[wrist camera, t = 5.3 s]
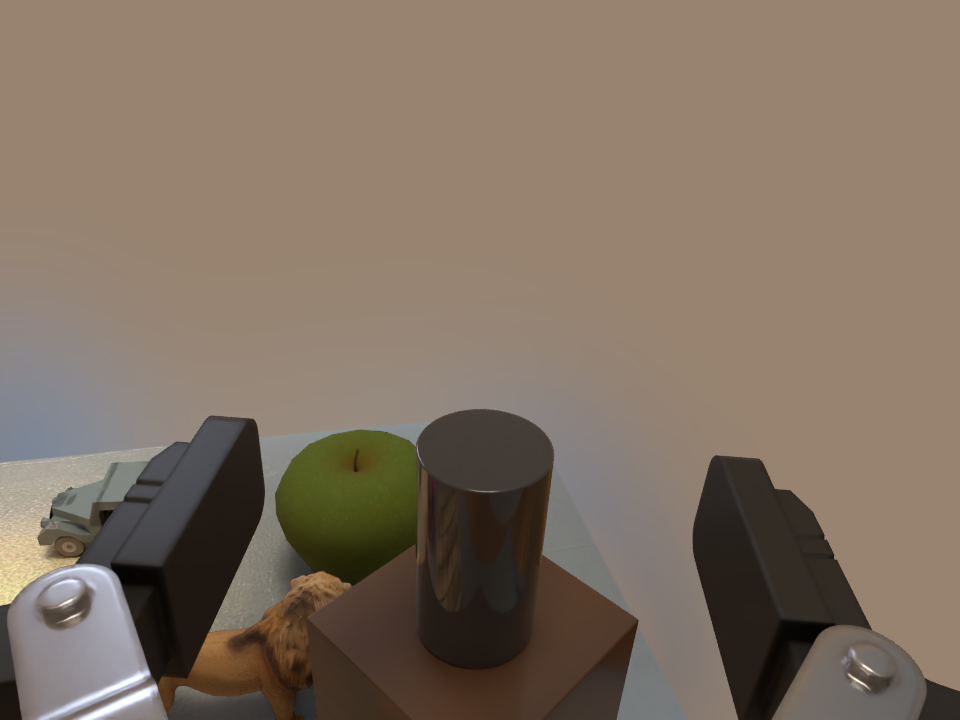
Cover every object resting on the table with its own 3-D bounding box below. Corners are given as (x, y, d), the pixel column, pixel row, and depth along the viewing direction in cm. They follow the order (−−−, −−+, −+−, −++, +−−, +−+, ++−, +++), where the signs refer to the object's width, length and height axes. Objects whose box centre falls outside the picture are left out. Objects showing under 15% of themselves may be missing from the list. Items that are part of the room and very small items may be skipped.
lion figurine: (353, 647, 46) (347, 541, 42) (367, 723, 42) (362, 614, 37) (96, 702, 42) (58, 590, 37) (81, 792, 38) (36, 679, 33)
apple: (348, 493, 59) (342, 387, 54) (462, 542, 54) (467, 432, 49) (250, 581, 50) (232, 466, 45) (376, 648, 46) (372, 528, 41)
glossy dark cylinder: (557, 618, 31) (582, 448, 27) (476, 693, 28) (489, 513, 23) (472, 557, 34) (481, 393, 30) (390, 618, 31) (386, 445, 26)
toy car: (66, 517, 55) (50, 465, 52) (205, 510, 56) (196, 459, 54) (32, 582, 49) (12, 528, 47) (188, 573, 51) (176, 519, 48)
